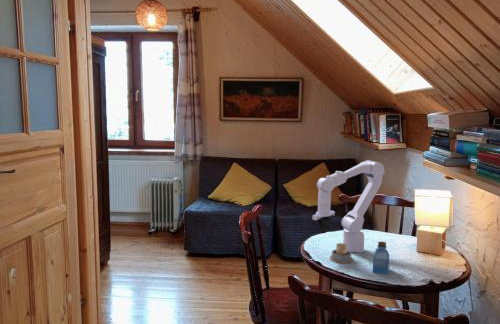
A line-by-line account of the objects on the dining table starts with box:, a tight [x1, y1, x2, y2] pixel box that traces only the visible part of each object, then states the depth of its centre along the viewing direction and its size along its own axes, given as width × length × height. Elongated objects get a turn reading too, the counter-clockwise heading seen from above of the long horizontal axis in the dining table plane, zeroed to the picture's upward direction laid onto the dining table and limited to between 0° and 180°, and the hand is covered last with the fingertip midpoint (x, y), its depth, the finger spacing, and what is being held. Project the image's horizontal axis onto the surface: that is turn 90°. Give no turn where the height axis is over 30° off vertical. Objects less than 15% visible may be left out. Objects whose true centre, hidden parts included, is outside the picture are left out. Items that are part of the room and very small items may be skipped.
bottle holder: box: [329, 249, 354, 264], centre depth 182 cm, size 10×10×3 cm
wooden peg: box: [335, 242, 347, 255], centre depth 182 cm, size 4×4×6 cm
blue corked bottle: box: [372, 241, 390, 275], centre depth 169 cm, size 6×6×12 cm
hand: (323, 232), depth 190 cm, fingers closed
